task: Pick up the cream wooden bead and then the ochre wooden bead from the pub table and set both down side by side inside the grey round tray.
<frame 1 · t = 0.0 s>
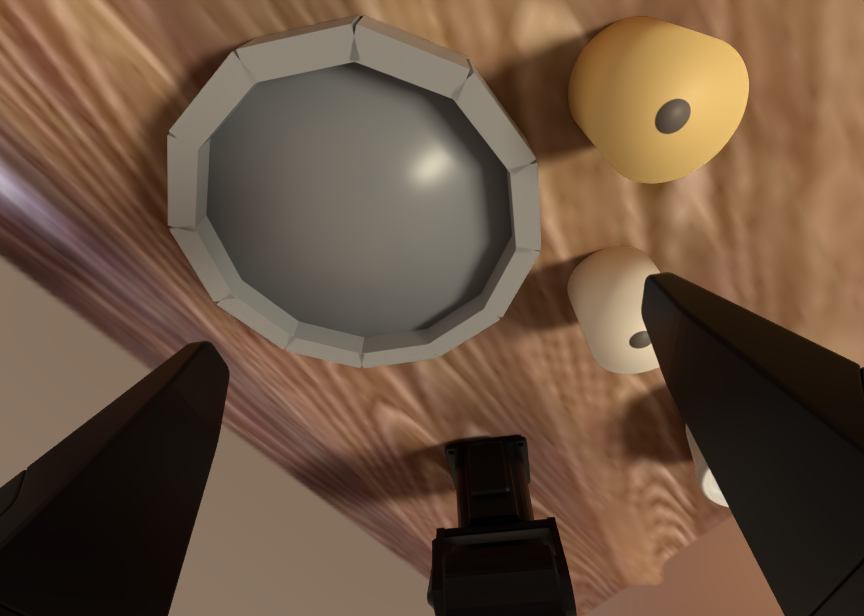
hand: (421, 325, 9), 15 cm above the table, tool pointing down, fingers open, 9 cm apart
cream bead: (610, 282, 27), on the table
round tray: (364, 214, 24), on the table
ochre bead: (624, 82, 20), on the table
ramekin: (746, 405, 35), on the table
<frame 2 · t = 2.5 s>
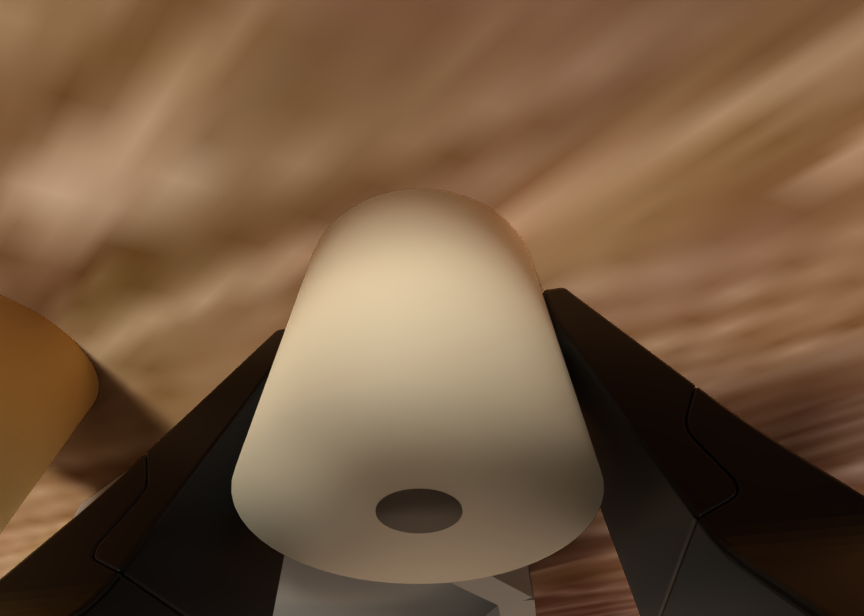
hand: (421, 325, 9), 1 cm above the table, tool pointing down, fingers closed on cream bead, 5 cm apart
cream bead: (421, 293, 10), on the table, touching gripper
round tray: (316, 565, 19), on the table
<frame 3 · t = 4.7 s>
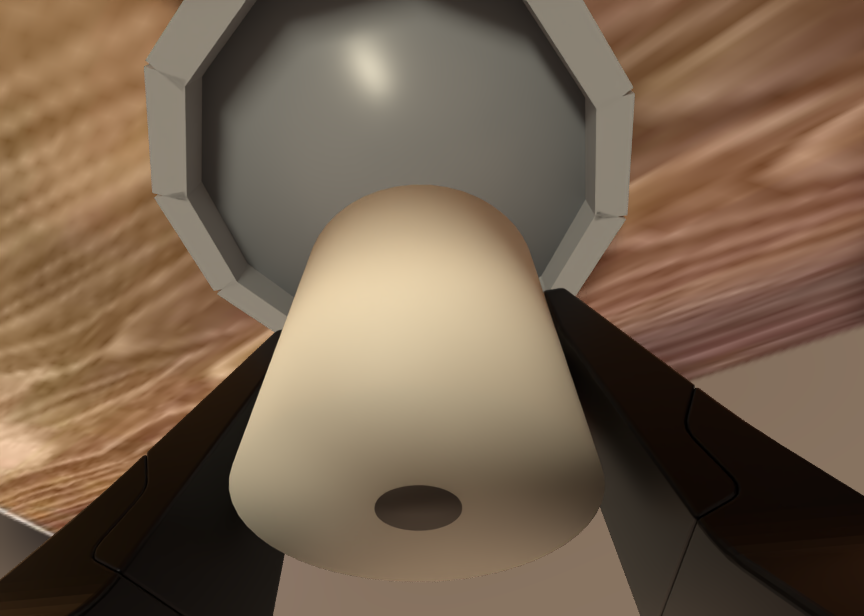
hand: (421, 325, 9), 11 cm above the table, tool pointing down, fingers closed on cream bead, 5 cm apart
cream bead: (421, 291, 10), point 10 cm above the table, touching gripper
round tray: (397, 178, 19), on the table
when the fingers open (3 cm above the table, at t = 6.9 s): cream bead drops 1 cm, resting on round tray.
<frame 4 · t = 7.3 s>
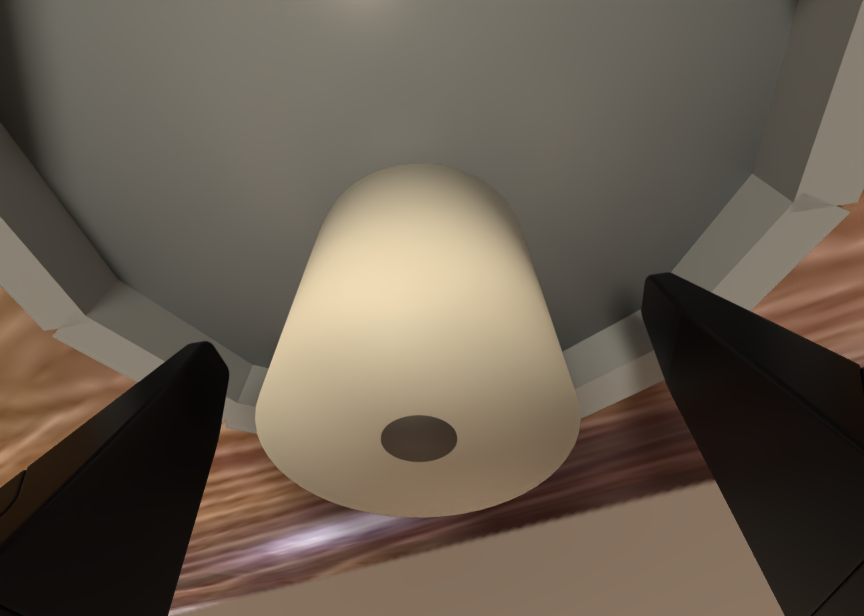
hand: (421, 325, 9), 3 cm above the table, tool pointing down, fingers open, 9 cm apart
cream bead: (421, 264, 11), point 1 cm above the table, touching round tray
round tray: (395, 126, 10), on the table
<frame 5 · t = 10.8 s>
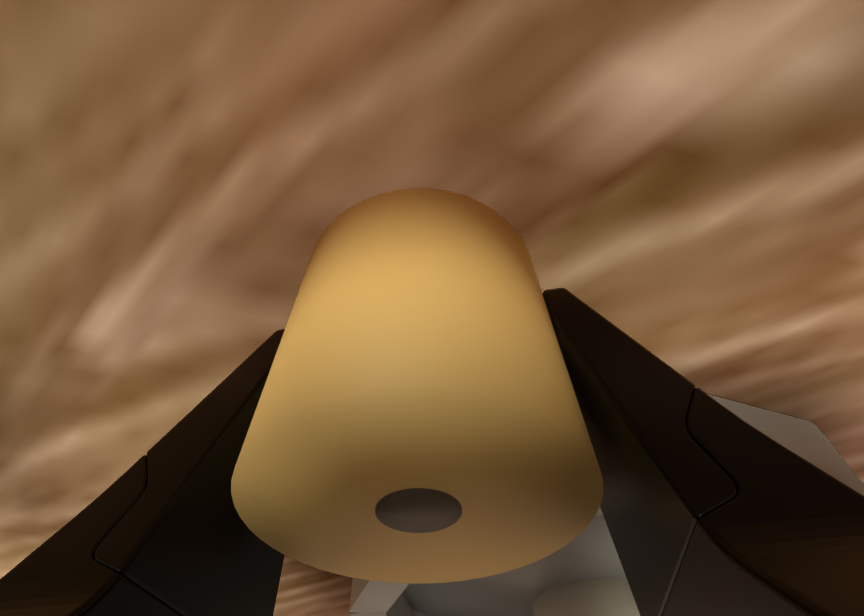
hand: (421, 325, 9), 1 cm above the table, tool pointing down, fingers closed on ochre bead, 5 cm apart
cream bead: (593, 602, 19), point 1 cm above the table, touching round tray
round tray: (586, 540, 18), on the table
ochre bead: (421, 293, 10), on the table, touching gripper
when the fingers open (3 cm above the table, at t = 14.6 s): ochre bead drops 1 cm, resting on round tray.
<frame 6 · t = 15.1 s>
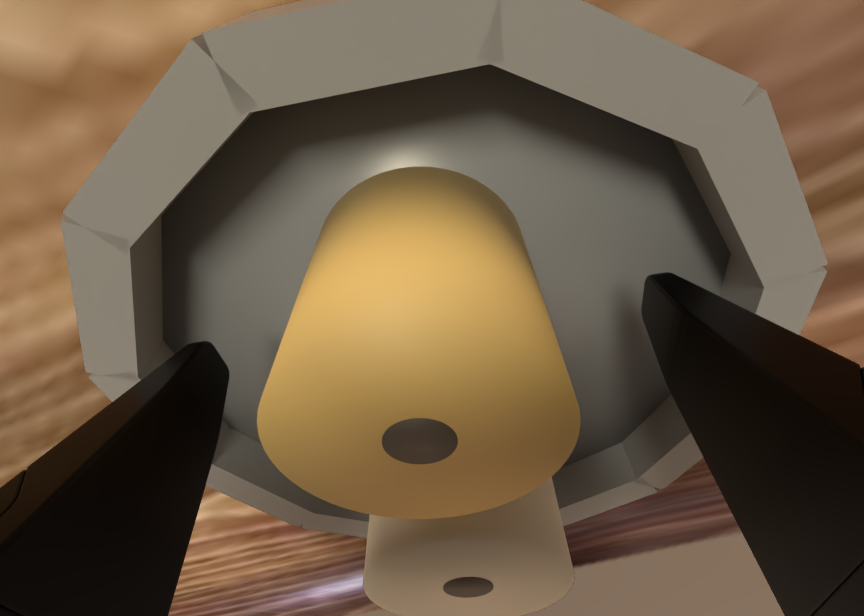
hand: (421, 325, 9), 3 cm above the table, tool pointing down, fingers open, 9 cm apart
cream bead: (456, 416, 15), point 1 cm above the table, touching round tray
round tray: (440, 325, 14), on the table
ochre bead: (421, 266, 11), point 1 cm above the table, touching round tray
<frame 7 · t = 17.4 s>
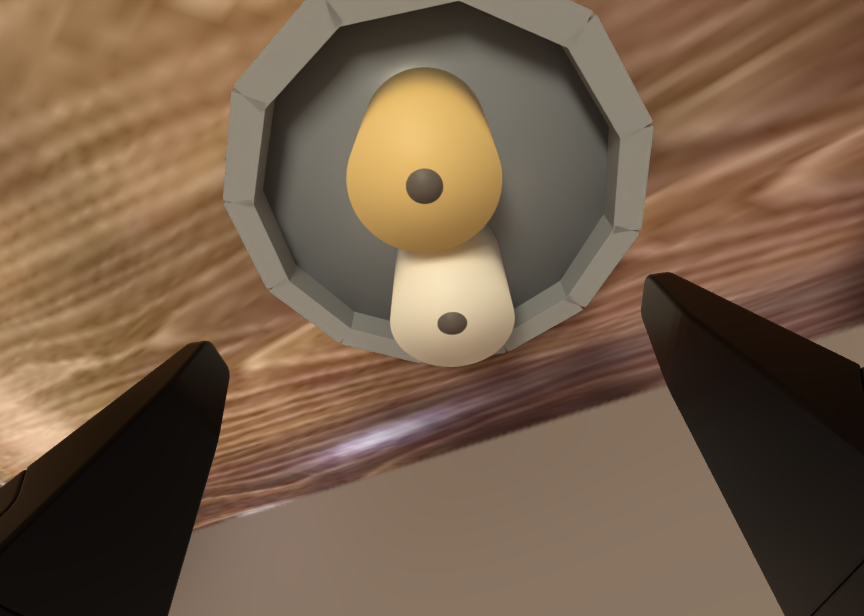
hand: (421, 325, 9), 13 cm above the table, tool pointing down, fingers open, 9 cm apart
cream bead: (447, 256, 22), point 1 cm above the table, touching round tray
round tray: (436, 190, 21), on the table
ochre bead: (424, 135, 19), point 1 cm above the table, touching round tray
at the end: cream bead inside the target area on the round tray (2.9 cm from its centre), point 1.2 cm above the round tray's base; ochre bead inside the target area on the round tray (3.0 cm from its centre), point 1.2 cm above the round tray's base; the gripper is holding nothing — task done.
